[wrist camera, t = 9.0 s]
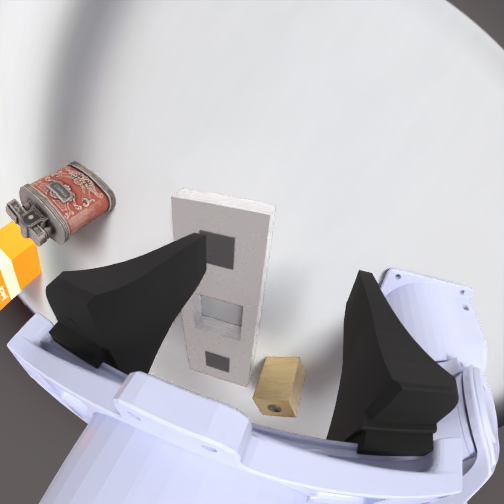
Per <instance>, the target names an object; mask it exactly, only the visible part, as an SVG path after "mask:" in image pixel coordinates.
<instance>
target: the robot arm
mask: <svg viewBox="0 0 504 504" xmlns="http://www.w3.org/2000/svg"><path fill="white" fill-rule="evenodd" d="M206 270H207V261H206V235H204V234H199V233H192V234H189V235H187V236H185V237H183V238H180V239H178V240H176V241H174V242H172V243H170V244H168V245H165V246H163V247H161V248H159V249H156V250H154V251H152V252H149V253H147V254H145V255H142V256H139V257H137V258H134V259H131V260H128V261H124V262H121V263H117V264H113V265H109V266H105V267H100V268H94V269H87V270H78V271H63V272H62V273H61V274H60V275H59V276H58V277H56V278H55V279H54V280H53V281H52V282H51V283H50V284H49V285H48V286H47V287H46V296H47V299H48V302H49V304H50V306H51V308H52V310H53V312H54V314H55V316H56V318H57V320H58V322H57V323H56V324H55V325H53V323H52V322H51V321H50V320H48V319H47V318H45V317H44V316H42V315H41V314H40V313H36V314H35V315H34V316H33V317H32V318H31V319H30V320H29V321H28V322H27V323H26V324H25V325H24V326H23V328H22V329H21V330H20V331H19V332H18V333H17V334H16V335H15V336H14V337H13V338H12V339H11V340H10V342H9V343H8V344H7V346H8V348H9V349H10V351H11V352H12V353H13V355H14V356H15V357H16V358H17V360H18V361H19V362H20V364H21V365H22V366H23V368H24V369H25V370H26V371H27V372H28V374H29V375H30V376H31V377H32V378H33V379H34V380H35V381H37V382H38V383H39V384H40V385H41V386H42V387H43V388H44V389H45V390H47V391H48V392H49V393H50V394H51V395H52V396H54V397H55V398H56V399H57V400H58V401H59V402H61V403H62V404H63V405H64V406H66V407H67V408H68V409H69V410H71V411H72V412H73V413H74V414H76V415H77V416H78V417H80V418H81V419H82V420H84V421H85V422H86V423H88V425H87V427H86V428H85V430H84V431H83V433H82V435H81V436H80V438H79V439H78V441H77V442H76V444H75V445H74V447H73V448H72V450H71V452H70V453H69V455H68V456H67V458H66V460H65V462H64V463H63V464H62V466H61V468H60V469H59V471H58V473H57V474H56V476H55V477H54V479H53V481H52V482H51V484H50V486H49V487H48V489H47V491H46V493H45V495H44V496H43V498H42V499H41V501H40V503H39V504H467V501H468V500H469V499H470V498H471V497H472V496H473V495H474V494H475V493H476V492H477V491H478V490H479V489H480V488H481V486H483V484H484V483H485V482H486V481H487V480H488V479H489V478H490V476H491V475H492V473H493V472H494V469H495V466H496V463H497V461H498V457H499V441H498V426H497V417H496V411H495V406H494V401H493V397H492V394H491V390H490V387H489V384H488V381H487V379H486V376H485V371H486V367H487V361H488V348H487V343H486V340H485V337H484V334H483V331H482V328H481V326H480V323H479V320H478V318H477V315H476V313H475V310H474V308H473V305H472V303H471V301H470V300H471V298H472V296H473V295H474V291H473V289H472V288H470V287H466V286H462V285H458V284H454V283H451V282H447V281H443V280H439V279H435V278H431V277H427V276H423V275H419V274H415V273H411V272H407V271H403V270H399V269H395V268H391V269H389V270H388V271H387V273H386V275H385V278H384V280H383V283H382V285H381V287H379V285H378V283H377V282H376V280H375V278H374V276H373V274H372V273H369V272H365V271H361V270H359V272H358V275H357V277H356V280H355V283H354V285H353V288H352V291H351V293H350V296H349V298H348V301H347V303H346V310H345V318H344V339H343V366H342V374H341V380H340V386H339V391H338V396H337V401H336V405H335V409H334V413H333V417H332V421H331V425H330V428H329V432H328V435H327V439H320V438H315V437H309V436H304V435H299V434H294V433H289V432H285V431H280V430H276V429H272V428H268V427H264V426H260V425H256V424H253V423H251V422H250V420H249V418H248V417H247V416H246V415H245V414H243V413H242V412H241V411H239V410H238V409H236V408H234V407H232V406H229V405H227V404H225V403H222V402H220V401H217V400H214V399H211V398H208V397H205V396H202V395H200V394H197V393H194V392H192V391H189V390H186V389H184V388H181V387H179V386H176V385H174V384H171V383H169V382H167V381H164V380H162V379H160V378H157V377H155V376H153V375H150V374H148V373H149V370H150V368H151V365H152V363H153V361H154V359H155V356H156V354H157V352H158V350H159V348H160V346H161V344H162V342H163V340H164V338H165V336H166V334H167V332H168V330H169V328H170V326H171V325H172V323H173V321H174V320H175V318H176V317H177V315H178V314H179V313H180V311H181V310H182V308H183V307H184V306H185V304H186V303H187V301H188V300H189V299H190V297H191V296H192V294H193V293H194V292H195V290H196V289H197V287H198V286H199V284H200V282H201V280H202V278H203V276H204V274H205V272H206ZM397 274H399V275H400V276H398V277H396V275H397ZM462 290H463V291H462ZM460 291H462V292H460Z"/></svg>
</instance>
